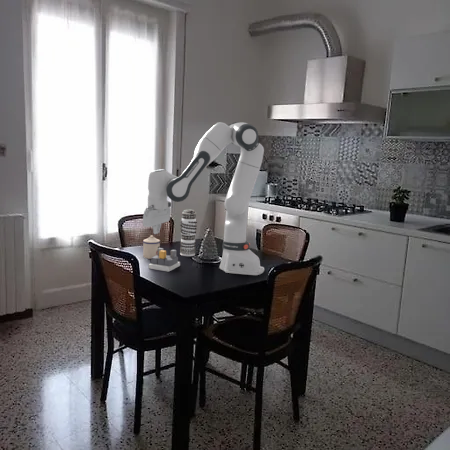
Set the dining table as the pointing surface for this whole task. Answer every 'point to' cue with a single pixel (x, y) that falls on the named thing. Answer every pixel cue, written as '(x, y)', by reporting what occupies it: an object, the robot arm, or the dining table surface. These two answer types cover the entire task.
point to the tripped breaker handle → (162, 254)
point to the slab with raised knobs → (164, 261)
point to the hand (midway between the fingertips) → (156, 233)
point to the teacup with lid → (150, 247)
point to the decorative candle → (188, 233)
